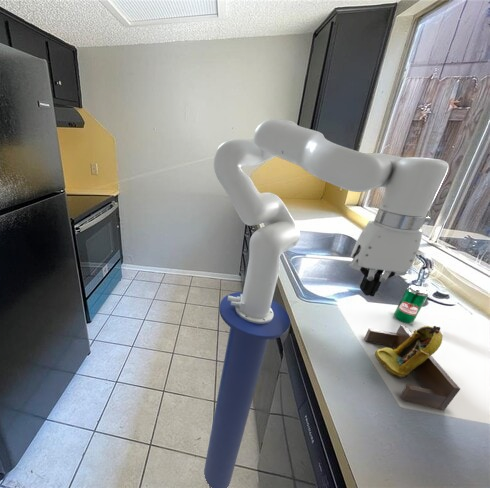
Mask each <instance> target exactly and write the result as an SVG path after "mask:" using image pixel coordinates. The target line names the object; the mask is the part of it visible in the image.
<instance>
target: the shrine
mask: <svg viewBox="0 0 490 488" xmlns="http://www.w3.org/2000/svg"><path fill="white" fill-rule="evenodd" d="M440 330H441V327H440V326H436V325H434V326H430V325H425V326H421V327H419V328H417V329H414V330H413V333H412V336H411V337H410V338H408V339H407V340H406V341H405V342H404V343H403V344H402V345H399V346H398V347H397V349H394V348H391V347H389V346H385V347H381V348H378V349H377V350H375V351H374V355H375V359H377V360H378V363H380V364H381V365H382V367H384V368H385V369H386V372H388V373H389V374H390V375H392V376H393V377H396V378H397V379H398V378H399V379H403V378H407V377H408V375H409V374H410V373H412V372H411V371H412V370H413V369H414V368H416V367H417V366H419V365H420V364H422V363H423V362H424V361H425V360H426V359H427V358H429V357H430V356H432V355H434V354H435V353H436V352H437V351H438V350H439V348H440V347H441V346H442V342H443V334H442V332H441V331H440Z"/></svg>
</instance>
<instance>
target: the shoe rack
mask: <svg viewBox="0 0 490 488" xmlns="http://www.w3.org/2000/svg"><path fill="white" fill-rule="evenodd" d="M412 334H413V333H412V332H411V331H410V329H409V328H408V327H407V326H406V325H403V324H400V325H399V327H398V329H397V330H396V332H392V331H388V330H387V331H386V330H380V329H375V328H371V327H369V328H368V329H367V331H366V333H365V335H364V337H363V339H364V341H365V343H366V342H367V343H373V344H378V345H383V346H387V347H393V350H395V349H397V347H398V346H399V345H402V344H403V343H404V342H405V341H406V340H407V339H408V338H410V337H411V336H412ZM410 373H411V374H412V375H413V376H414V377H415V379H416V380H417V381H418V383H419V385H420V386H416V385H411V384H406V385H405V386H404V389H403V390H402V392H401V394H400V395H399V397H400V399H401V400H402V401H403V402H405V403H406V402H407V403H411V404H414V405H415V404H416V405H420V406H425V407H429V408H433V409H438V410H443V411H445V410H446V409H447V408H448V407H449V405H450V404H451V402H452V401H453V400H454V399H455V397H456V396H457V395H458V393H459V392H460V391H461V387H459V386H458V384H457V383H456V382H455V381H454V380H453V378H451V376H450V375H449V374H448V373H447V372H446V370H445V369H444V368H443V367H442V366H441V365H440V364H439V363H438V361H437V360H436V359H435V358H434V357H433V356H432V355H431V356H430V357H429V358H427V359H426V360H425V361H424V362H423V363H422V364H420V365H419V366H417V367H416V368H414V369H413V370H412V371H411V372H410Z"/></svg>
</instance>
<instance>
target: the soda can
mask: <svg viewBox="0 0 490 488" xmlns="http://www.w3.org/2000/svg"><path fill="white" fill-rule="evenodd" d="M428 292H429V291H428V290H427V289H426V288H424V287H422V286H419V285H413V284H412V285H409V286H408V287H407V288H406V289H405V290H404V292H403V295H402V297H401V299H400V301H399V303H398V305H397V307H396V309H395V311H394V313H393V316H394V318H395V319H396V320H397V321H399V322H401V323H404V324H413V323H414V322H415V320H416V318H417V316H418V315H419V312H420V311H421V309H422V308H423V305H424V304H425V302H426V300H427V298H428V297H429V294H428Z"/></svg>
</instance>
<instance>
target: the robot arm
mask: <svg viewBox="0 0 490 488" xmlns="http://www.w3.org/2000/svg"><path fill="white" fill-rule="evenodd" d="M325 137H326V136H325V135H324V134H323V133H322V132H321V131H317V130H314V129H311V128H307V127H303V126H301V125H298V124H297V123H296V122H294V121H292V120H290V119H282V118H269V119H265V120H263V121H262V122H260V123H259V124H258V125H257V127H256V128H255V130H254V132H253V138H234V139H228V140H225V141H224V142H222V143H220V145H219V146H218V147H217V149H215V153H214V157H213V170H214V173H215V176H216V179H217V180H218V182H219V184H220V185H221V186H222V188H223V190H224V191H225V193H226V194H227V196H228V198H229V200H230V202H231V204H232V206H233V207H234V210H235V211H236V214H238V216H239V219H240V220H241V221H242V223H243V224H244V225H246V226H249V227H251V226H258V225H262V224H263V226H261V227H260V228H258V229H256V230H255V231H254V232H252V235H251V236H250V239H249V244H248V245H249V246H248V247H249V249H248V251H249V257H248V262H247V263H248V264H247V269H246V275H245V280H244V285H243V290H242V292H243V294H241V295H240V297H238V296H237V297H233V296H228V301H230V302H231V305H233V306H235V310H236V312H237V314H238V315H239V316H240V317H242V318H243V319H245V320H246V321H249V322H252V323H256V324H265V323H268V322H270V321H271V320H272V319H273V314H274V313H273V311H272V309H271V308H270V307H271V303H272V300H273V298H274V294H275V290H276V287H277V283H278V279H279V274H280V270H281V262H280V261H281V260H280V258H281V256H282V254H283V253H285V252H287V251H289V250H291V249H293V248H295V247H296V246H297V244H298V243H299V241H300V240H301V239H300V238H301V232H300V229H299V227H298V225H297V223H296V221H295V220H294V218H293V217H292V215H291V213H290V211H289V210H288V208H287V205H286V204H285V203H284V202H283V200H282V199H281V198H280V197H279V196H278V195H277V194H275V193H273V192H260V191H259V190H258V189H257V187H256V185H255V183H254V182H253V180H252V179H251V177H250V176H249V175H248V174H247V173H246V172H245V171H243V169H242V168H250V167H255V166H258V165H261V164H263V163H265V162H268V161H270V160H272V159H274V158H278V159H281V160H283V161H284V160H285V161H286V162H289V163H292V164H294V165H296V166H299V167H300V168H301V169H302V170H304V171H306V173H309V174H310V175H312V176H313V177H315V178H317V179H319V180H321V181H324V182H326V183H329V184H331V185H333V186H335V187H338V188H340V189H343V190H345V191H349V192H354V193H363V192H368V191H371V190H376V189H385V192H384V194H383V197H382V199H381V202H380V205H379V207H378V210H377V212H376V215H375V217H374V220H369V221H368V222H367V223H366V225H365V227H364V228H363V229H362V231H361V233H360V235H359V236H358V239H357V240H356V242H355V245H354V247H353V249H352V251H351V255H350V257H351V258H352V260H351V262H350V263H349V266H350V268H351V269H352V270H356V271H358V272H361V274H362V275H363V278H362V280H361V282H360V285H359V289H360V291H361V292H362V294H363V295H364V296H368V297H369V296H370V297H375V295H376V293H377V292H378V291H379V288H380V286H381V284H382V283H385V282H386V281H387V280H388V279H390V278H392V277H401V276H403V277H404V276H405V275H406V274H407V272H408V271H409V270H410V269H411V268H412V266H413V264H414V262H415V259H416V258H417V254H418V251H419V249H420V246H421V241H422V237H423V230H422V229H421V228H423V225H424V224H430V223H431V221H432V219H431V217H429V216H428V213H429V211H430V210H431V207H432V205H433V202H434V201H435V199H436V196H437V194H438V192H439V190H440V188H441V186H442V183H443V182H444V180H445V178H446V175H447V173H448V171H449V168H450V167H449V166H450V165H449V163H448V162H447V161H446V160H443V159H438V158H430V157H429V158H428V157H413V156H412V157H411V156H410V157H403V156H397V155H393V154H388V153H382V152H374V153H373V152H372V153H370V152H369V153H366V152H362V151H358V150H355V149H352V148H349V147H346V146H342V145H340V144H338V143H335V142H332V141H330V140H328V139H327V138H325Z"/></svg>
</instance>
